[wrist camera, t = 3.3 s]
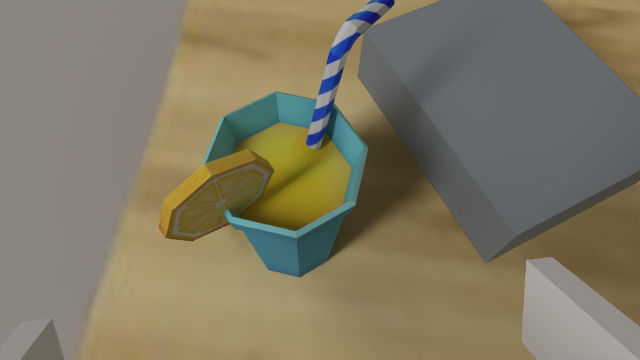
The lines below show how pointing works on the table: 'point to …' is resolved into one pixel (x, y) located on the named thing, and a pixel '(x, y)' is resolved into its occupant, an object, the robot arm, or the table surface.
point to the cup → (280, 170)
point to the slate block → (504, 114)
